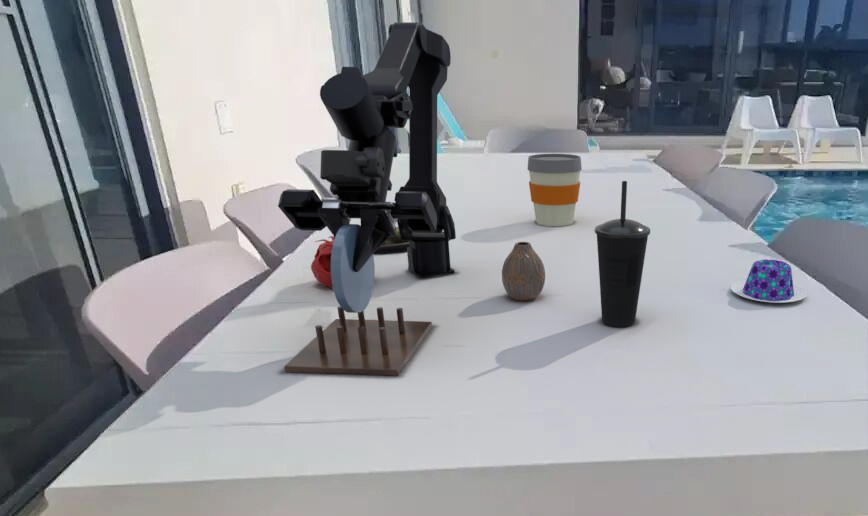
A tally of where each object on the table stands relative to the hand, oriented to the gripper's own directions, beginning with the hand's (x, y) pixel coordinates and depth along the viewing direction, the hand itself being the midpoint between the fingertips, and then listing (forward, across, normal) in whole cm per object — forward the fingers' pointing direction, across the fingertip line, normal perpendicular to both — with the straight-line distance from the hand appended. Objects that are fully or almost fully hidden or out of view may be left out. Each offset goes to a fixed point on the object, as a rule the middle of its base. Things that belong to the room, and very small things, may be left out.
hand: (348, 270), depth 78 cm
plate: (+3, 0, +5) cm, 6 cm away
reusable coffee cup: (-47, +19, +63) cm, 81 cm away
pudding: (-12, +58, +28) cm, 65 cm away
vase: (-8, +18, +24) cm, 32 cm away
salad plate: (-30, -16, +46) cm, 57 cm away
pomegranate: (-12, -13, +28) cm, 33 cm away
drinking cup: (-2, +34, +18) cm, 38 cm away
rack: (+7, 0, +9) cm, 11 cm away
